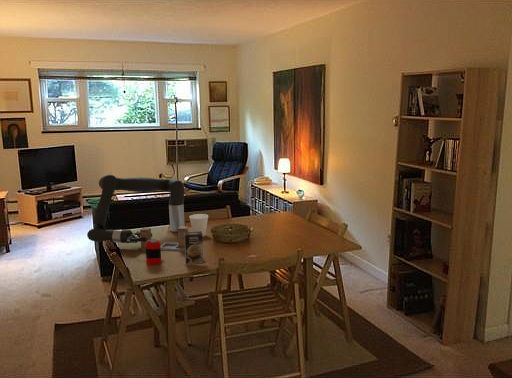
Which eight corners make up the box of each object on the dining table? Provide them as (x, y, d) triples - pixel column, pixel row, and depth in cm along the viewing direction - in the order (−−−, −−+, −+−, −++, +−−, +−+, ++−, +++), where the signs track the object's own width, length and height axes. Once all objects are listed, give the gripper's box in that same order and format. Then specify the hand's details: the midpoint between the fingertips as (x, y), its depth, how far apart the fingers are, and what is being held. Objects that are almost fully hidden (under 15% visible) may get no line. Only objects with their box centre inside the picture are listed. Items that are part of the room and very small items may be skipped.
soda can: (143, 263, 244) (142, 240, 242) (156, 259, 249) (154, 237, 247) (151, 266, 239) (150, 244, 237) (164, 262, 244) (163, 240, 242)
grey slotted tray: (163, 246, 271) (162, 241, 271) (198, 247, 267) (197, 243, 267) (155, 253, 260) (154, 248, 259) (191, 254, 256) (191, 250, 255)
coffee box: (185, 265, 239) (184, 235, 236) (185, 261, 246) (183, 231, 242) (203, 264, 241) (202, 234, 238) (202, 260, 247) (201, 230, 244)
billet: (144, 247, 269) (143, 227, 267) (152, 248, 269) (150, 227, 266) (141, 250, 265) (140, 229, 263) (148, 250, 264) (147, 230, 262)
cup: (211, 236, 288) (210, 217, 286) (192, 239, 284) (191, 219, 282) (206, 232, 299) (205, 213, 297) (187, 234, 295) (187, 215, 293)
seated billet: (181, 246, 265) (180, 226, 263) (189, 247, 264) (188, 226, 262) (178, 249, 261) (177, 228, 258) (186, 249, 260) (185, 228, 258)
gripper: (116, 233, 260) (143, 234, 257) (127, 226, 274) (153, 227, 271) (117, 246, 262) (144, 247, 259) (128, 239, 276) (154, 240, 273)
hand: (149, 237), depth 265 cm, fingers open, 8 cm apart
